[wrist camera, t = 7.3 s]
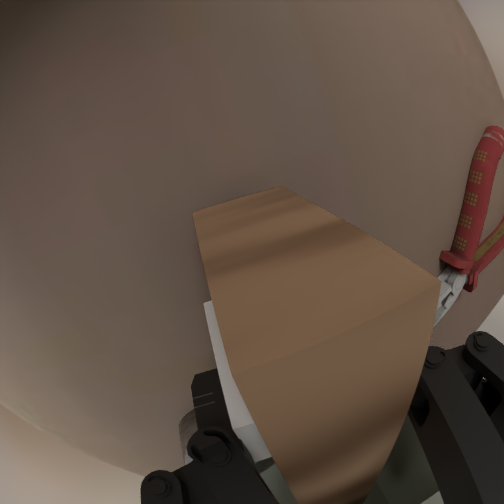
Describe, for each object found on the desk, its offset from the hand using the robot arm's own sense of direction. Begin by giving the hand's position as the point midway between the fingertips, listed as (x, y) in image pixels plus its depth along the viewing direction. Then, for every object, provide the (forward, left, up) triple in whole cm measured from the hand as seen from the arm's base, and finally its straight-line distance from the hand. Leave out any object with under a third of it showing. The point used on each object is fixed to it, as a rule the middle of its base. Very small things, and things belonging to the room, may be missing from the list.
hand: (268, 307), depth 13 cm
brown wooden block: (+6, 0, -1) cm, 6 cm away
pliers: (+2, +18, -3) cm, 19 cm away
